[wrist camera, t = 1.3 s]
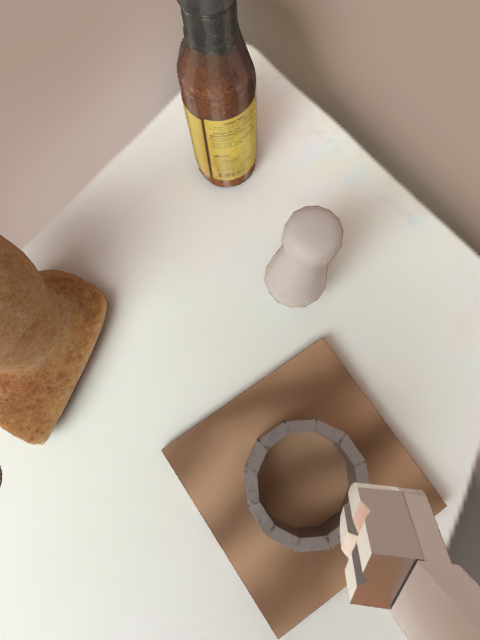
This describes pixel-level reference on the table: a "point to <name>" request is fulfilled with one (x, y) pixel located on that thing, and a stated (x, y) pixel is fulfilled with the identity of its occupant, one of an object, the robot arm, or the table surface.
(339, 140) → the table surface
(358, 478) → the keeper collar
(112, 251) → the table surface
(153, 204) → the table surface
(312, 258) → the salt shaker
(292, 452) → the keeper plate
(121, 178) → the table surface
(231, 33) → the sauce bottle
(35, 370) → the stone cup
